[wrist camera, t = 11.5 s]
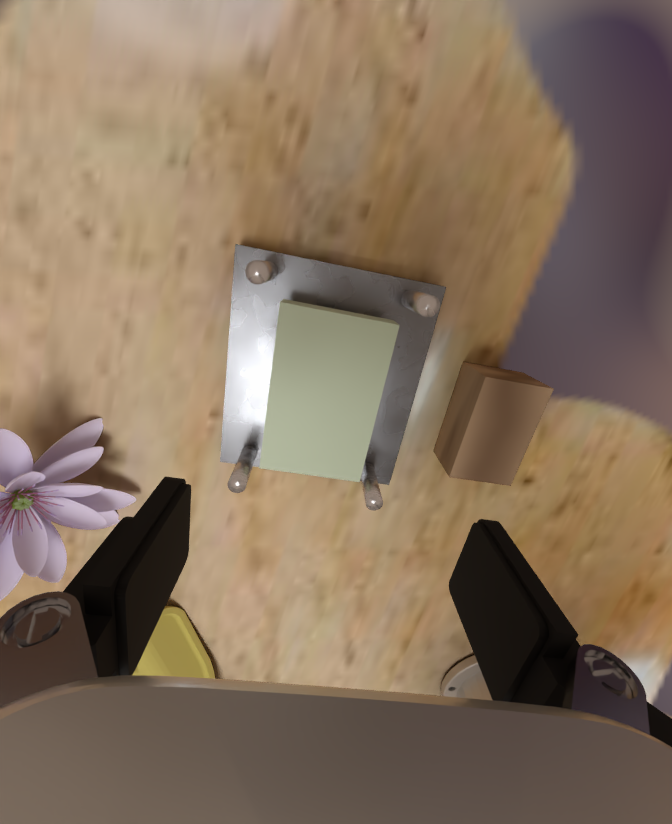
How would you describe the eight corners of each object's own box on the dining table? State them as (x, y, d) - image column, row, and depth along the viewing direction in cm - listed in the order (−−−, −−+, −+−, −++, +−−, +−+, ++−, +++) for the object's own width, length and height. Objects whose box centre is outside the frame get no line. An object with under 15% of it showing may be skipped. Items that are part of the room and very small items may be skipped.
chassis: (439, 285, 25) (473, 291, 19) (386, 474, 31) (400, 520, 25) (240, 245, 23) (215, 239, 18) (224, 452, 29) (202, 495, 24)
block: (522, 372, 28) (553, 388, 24) (487, 459, 31) (510, 485, 27) (463, 361, 27) (485, 376, 23) (433, 451, 30) (449, 477, 26)
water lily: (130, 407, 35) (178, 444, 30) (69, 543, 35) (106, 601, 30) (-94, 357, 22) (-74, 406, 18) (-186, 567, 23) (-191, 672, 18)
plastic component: (49, 641, 34) (107, 667, 29) (118, 581, 40) (175, 595, 36) (137, 763, 40) (197, 800, 36) (185, 695, 46) (242, 719, 42)
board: (393, 320, 22) (399, 325, 20) (356, 467, 26) (359, 482, 24) (283, 298, 21) (279, 302, 20) (263, 453, 26) (259, 468, 24)
